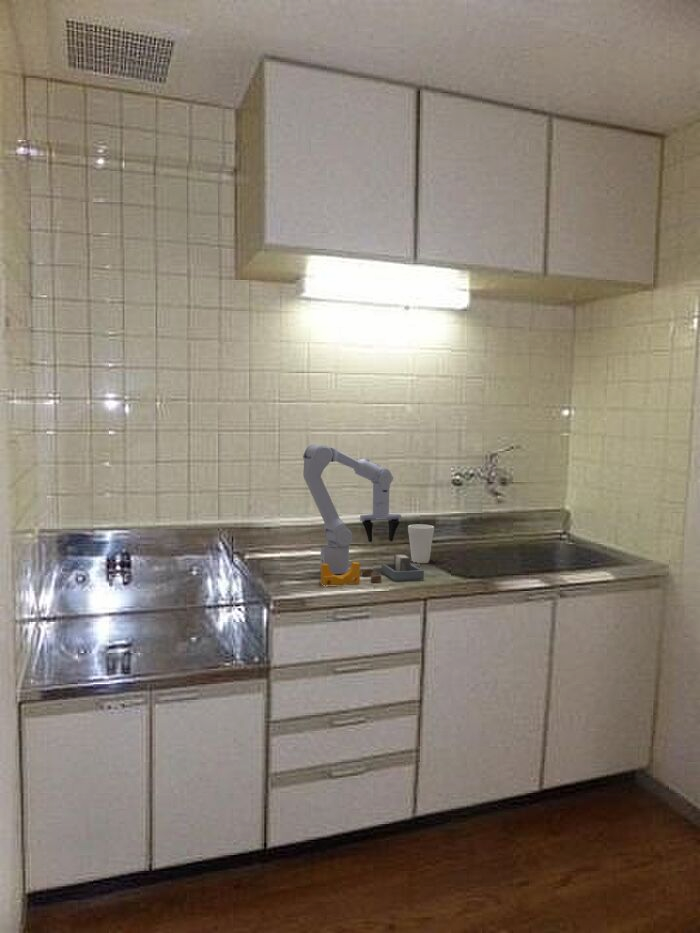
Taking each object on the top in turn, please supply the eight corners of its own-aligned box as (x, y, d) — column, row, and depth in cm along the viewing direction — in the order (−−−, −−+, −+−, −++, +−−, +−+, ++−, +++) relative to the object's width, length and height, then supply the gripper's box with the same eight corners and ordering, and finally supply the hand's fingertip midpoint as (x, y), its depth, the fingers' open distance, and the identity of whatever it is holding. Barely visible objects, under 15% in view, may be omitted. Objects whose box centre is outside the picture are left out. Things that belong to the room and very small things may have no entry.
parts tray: (394, 581, 211) (394, 572, 211) (381, 572, 223) (381, 563, 223) (423, 579, 214) (423, 570, 213) (409, 571, 226) (409, 562, 226)
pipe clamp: (323, 587, 203) (324, 566, 203) (320, 584, 207) (320, 563, 207) (361, 585, 207) (361, 564, 206) (357, 581, 211) (357, 561, 210)
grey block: (401, 576, 215) (401, 558, 214) (394, 572, 221) (394, 554, 221) (410, 576, 216) (410, 558, 215) (402, 571, 222) (402, 554, 222)
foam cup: (407, 563, 238) (408, 528, 238) (407, 558, 248) (407, 524, 247) (434, 564, 238) (434, 528, 237) (432, 559, 247) (433, 524, 246)
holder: (372, 582, 209) (372, 576, 209) (362, 575, 219) (362, 569, 219) (381, 582, 210) (381, 576, 209) (370, 574, 220) (370, 568, 220)
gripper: (364, 504, 224) (364, 543, 225) (404, 503, 228) (403, 542, 229) (358, 501, 230) (358, 540, 231) (397, 501, 234) (397, 538, 235)
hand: (380, 541), depth 230 cm, fingers open, 7 cm apart
